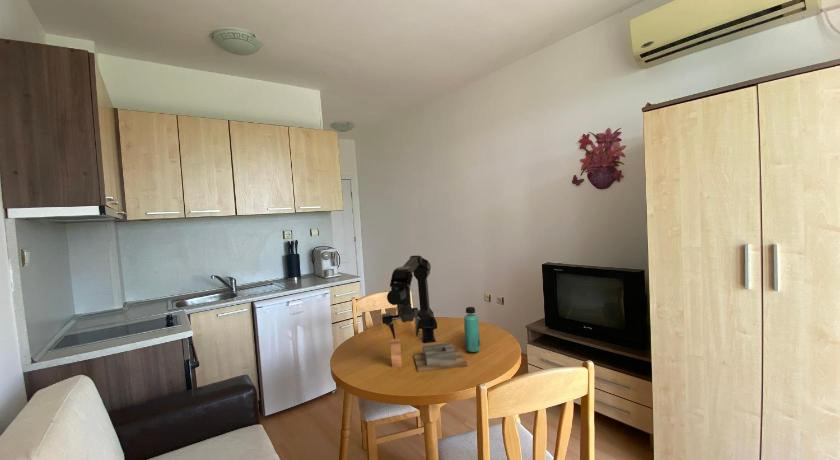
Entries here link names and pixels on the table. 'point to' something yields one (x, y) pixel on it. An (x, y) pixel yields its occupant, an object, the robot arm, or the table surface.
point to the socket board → (445, 366)
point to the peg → (395, 353)
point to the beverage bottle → (471, 330)
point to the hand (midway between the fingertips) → (405, 337)
